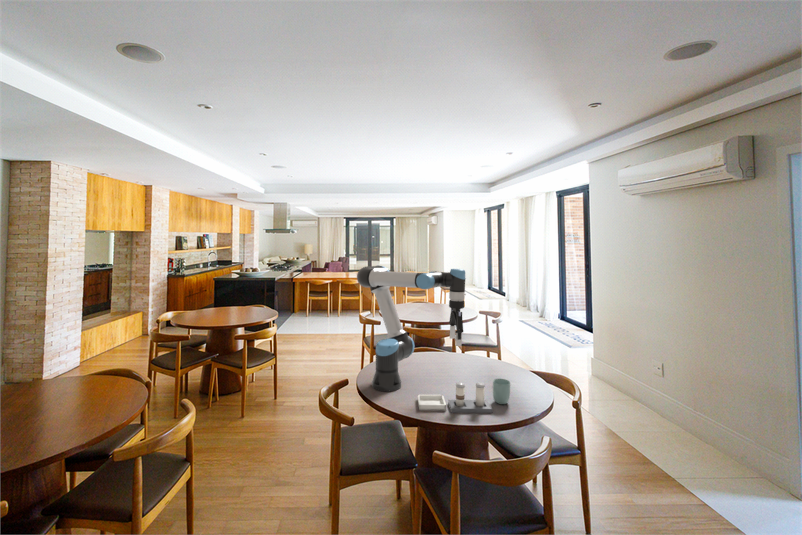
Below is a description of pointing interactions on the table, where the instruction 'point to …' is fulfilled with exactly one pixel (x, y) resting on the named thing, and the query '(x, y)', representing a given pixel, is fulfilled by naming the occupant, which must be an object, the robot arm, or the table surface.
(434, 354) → the table surface
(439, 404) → the tray
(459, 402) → the cylinder
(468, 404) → the holder
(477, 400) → the cylinder
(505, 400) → the cup
